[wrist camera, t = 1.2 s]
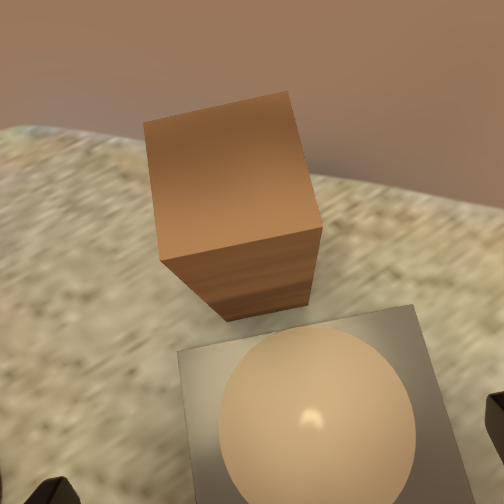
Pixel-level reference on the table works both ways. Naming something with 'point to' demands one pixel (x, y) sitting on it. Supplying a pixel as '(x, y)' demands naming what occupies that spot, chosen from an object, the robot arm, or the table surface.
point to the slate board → (321, 417)
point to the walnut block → (235, 205)
